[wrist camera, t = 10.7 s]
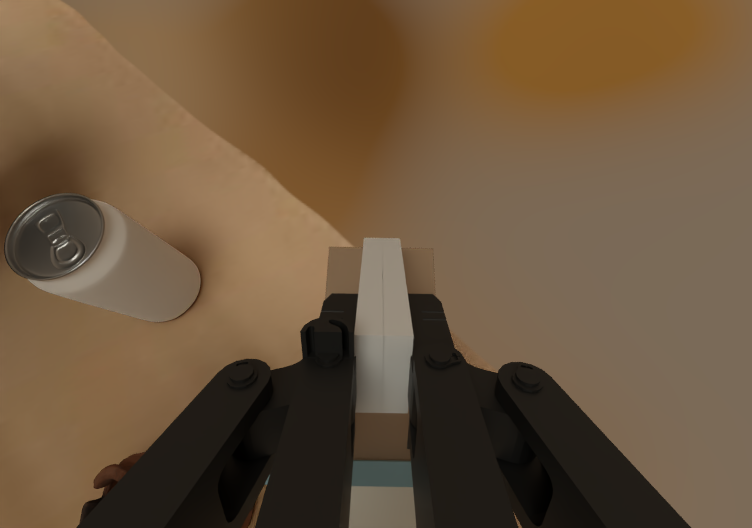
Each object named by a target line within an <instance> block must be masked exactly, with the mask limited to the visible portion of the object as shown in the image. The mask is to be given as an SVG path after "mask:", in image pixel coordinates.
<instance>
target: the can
mask: <svg viewBox="0 0 752 528" xmlns="http://www.w3.org/2000/svg"><path fill="white" fill-rule="evenodd" d="M4 253H5V258H6V261H7V263H8V265H9V266H10V267H11V269H12V270H13V271H14V272H15V273H17V274H18V275H20V276H22V277H24V278H27V279H28V280H29V281H30V282H31V283H32V284H33V285H35V286H36V287H38V288H39V289H41V290H44V291H46V292H49V293H52V294H55V295H58V296H61V297H65V298H68V299H71V300H75V301H78V302H82V303H85V304H89V305H92V306H96V307H99V308H103V309H106V310H110V311H113V312H117V313H120V314H124V315H127V316H131V317H135V318H138V319H142V320H146V321H150V322H164V321H169V320H172V319H175V318H177V317H178V316H180V315H181V314H183V313H184V312H185V311H186V310H187V309H188V308H189V307H190V306H191V305H192V304H193V302H194V301H195V299H196V297H197V295H198V293H199V290H200V284H201V279H200V273H199V270H198V268H197V266H196V265H195V264H194V262H193V261H192V260H190V259H189V258H188V257H187V256H185V255H184V254H182V253H181V252H180V251H178V250H177V249H175V248H174V247H172V246H171V245H170V244H168V243H167V242H165V241H164V240H162V239H161V238H159V237H158V236H157V235H155V234H154V233H152V232H151V231H149V230H148V229H146V228H145V227H143V226H142V225H140V224H139V223H138V222H136V221H135V220H133V219H132V218H130V217H129V216H127V215H126V214H124V213H123V212H121V211H120V210H118V209H117V208H115V207H113V206H111V205H109V204H107V203H105V202H102V201H98V200H93V199H90V198H88V197H86V196H83V195H80V194H75V193H60V194H55V195H51V196H48V197H45V198H43V199H40V200H38V201H37V202H35V203H33V204H32V205H30V206H29V207H28V208H26V209H25V210H24V211H23V212H22V213H21V214H20V215H19V216H18V217H17V218H16V219H15V221H14V222H13V224H12V225H11V227H10V229H9V231H8V233H7V236H6V239H5V245H4Z"/></svg>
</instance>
